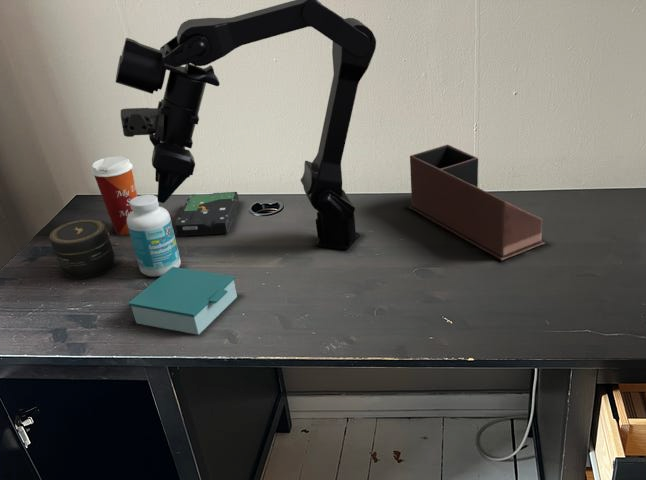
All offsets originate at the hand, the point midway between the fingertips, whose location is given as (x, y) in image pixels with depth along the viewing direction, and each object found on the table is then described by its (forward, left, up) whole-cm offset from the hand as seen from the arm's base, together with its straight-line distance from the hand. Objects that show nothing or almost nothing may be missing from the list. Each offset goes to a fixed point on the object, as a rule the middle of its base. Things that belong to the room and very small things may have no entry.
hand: (159, 191), depth 125 cm
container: (-9, +11, -15) cm, 21 cm away
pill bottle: (+4, 0, -15) cm, 16 cm away
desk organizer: (-47, -31, -15) cm, 58 cm away
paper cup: (+20, -12, -15) cm, 28 cm away
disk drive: (+6, -20, -15) cm, 26 cm away
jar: (+17, +4, -15) cm, 24 cm away
